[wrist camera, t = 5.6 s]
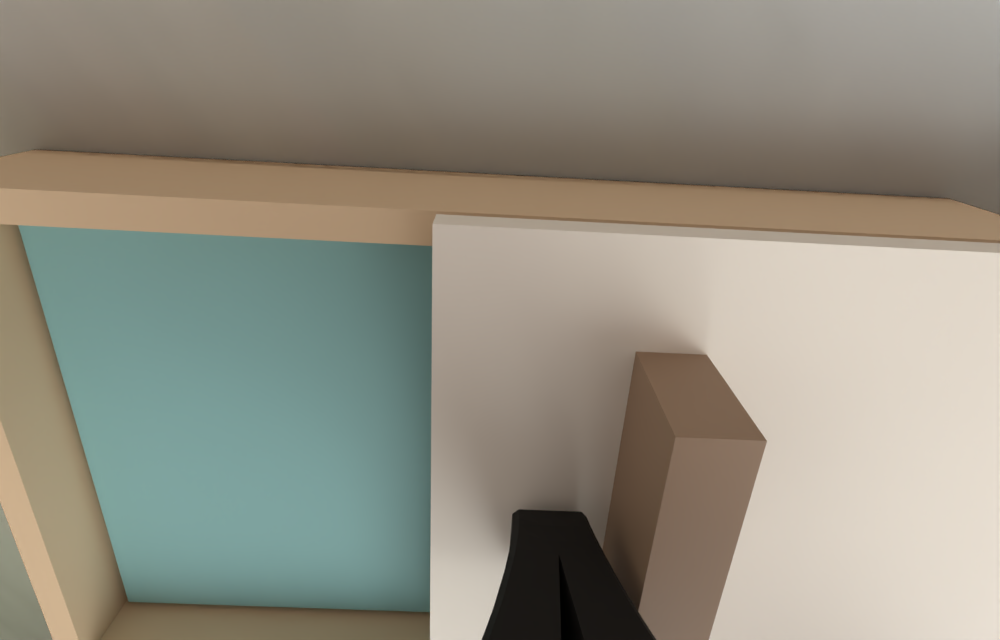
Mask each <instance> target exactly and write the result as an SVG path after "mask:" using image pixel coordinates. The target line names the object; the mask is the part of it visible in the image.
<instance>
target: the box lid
mask: <svg viewBox="0 0 1000 640" xmlns="http://www.w3.org/2000/svg"><path fill="white" fill-rule="evenodd" d="M518 509H525V510H551V511H577V512H582V513H583V514H584V515H585V516H586V517H587V519H588V521H589V524H590V526H591V528H592V530H593V532H594V534H595V536H596V538H597V540H598V542H599V544H600V546H601V548H602V550H603V552H604V554H605V556H606V557H607V559H608V561H609V563H610V565H611V567H612V568H613V570H614V572H615V574H616V576H617V577H618V579H619V581H620V582H621V584H622V586H623V588H624V589H625V591H626V593H627V594H628V596H629V597H630V599H631V601H632V602H633V604H634V606H635V607H636V609H637V610H638V612H639V614H640V615H641V617H642V619H643V620H644V622H645V623H646V625H647V626H648V628H649V629H650V631H651V632H652V634H653V635H654V637H655V638H656V640H1000V243H985V242H966V241H946V240H927V239H908V238H889V237H869V236H850V235H831V234H811V233H792V232H773V231H753V230H734V229H715V228H695V227H676V226H657V225H638V224H618V223H599V222H580V221H560V220H541V219H522V218H502V217H483V216H464V215H444V214H436V216H435V219H434V221H433V224H432V385H431V546H430V640H482V637H483V635H484V632H485V629H486V626H487V624H488V621H489V618H490V616H491V613H492V610H493V607H494V604H495V601H496V597H497V594H498V591H499V587H500V584H501V580H502V577H503V574H504V570H505V566H506V562H507V557H508V553H509V548H510V536H511V523H512V514H513V513H514V512H516V511H517V510H518Z"/></svg>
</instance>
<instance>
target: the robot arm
mask: <svg viewBox="0 0 1000 640" xmlns="http://www.w3.org/2000/svg"><path fill="white" fill-rule="evenodd" d="M482 640H656V638H655V637H654V635H653V634H652V632H651V631H650V629H649V628H648V626H647V625H646V623H645V622H644V620H643V619H642V617H641V615H640V614H639V612H638V610H637V609H636V607H635V606H634V604H633V602H632V601H631V599H630V597H629V596H628V594H627V593H626V591H625V589H624V588H623V586H622V584H621V582H620V581H619V579H618V577H617V576H616V574H615V572H614V570H613V568H612V567H611V565H610V563H609V561H608V559H607V557H606V556H605V554H604V552H603V550H602V548H601V546H600V544H599V542H598V540H597V538H596V536H595V534H594V532H593V530H592V528H591V526H590V524H589V521H588V519H587V517H586V516H585V515H584V514H583V513H582V512H577V511H551V510H525V509H518V510H517V511H516V512H514V513H513V514H512V523H511V536H510V548H509V553H508V557H507V562H506V566H505V570H504V574H503V577H502V580H501V584H500V587H499V591H498V594H497V597H496V601H495V604H494V607H493V610H492V613H491V616H490V618H489V621H488V624H487V626H486V629H485V632H484V635H483V637H482Z"/></svg>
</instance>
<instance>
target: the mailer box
mask: <svg viewBox="0 0 1000 640" xmlns="http://www.w3.org/2000/svg"><path fill="white" fill-rule="evenodd" d="M436 214H444V215H464V216H483V217H502V218H522V219H541V220H560V221H580V222H599V223H618V224H638V225H657V226H676V227H695V228H715V229H734V230H753V231H773V232H792V233H811V234H831V235H850V236H869V237H889V238H908V239H927V240H946V241H966V242H985V243H1000V215H999V214H996V213H992V212H989V211H986V210H983V209H980V208H977V207H974V206H971V205H967V204H964V203H961V202H958V201H955V200H952V199H947V198H929V197H910V196H891V195H873V194H854V193H835V192H817V191H798V190H780V189H761V188H742V187H724V186H705V185H686V184H668V183H649V182H631V181H612V180H593V179H575V178H556V177H537V176H519V175H500V174H482V173H463V172H444V171H426V170H407V169H388V168H370V167H351V166H333V165H314V164H295V163H277V162H258V161H239V160H221V159H202V158H184V157H165V156H146V155H128V154H109V153H90V152H72V151H53V150H31V151H26V152H21V153H16V154H11V155H6V156H2V157H0V503H1V505H2V508H3V510H4V513H5V516H6V518H7V521H8V524H9V526H10V529H11V531H12V534H13V537H14V539H15V542H16V544H17V547H18V550H19V552H20V555H21V558H22V560H23V563H24V565H25V568H26V571H27V573H28V576H29V578H30V581H31V584H32V586H33V589H34V592H35V594H36V597H37V599H38V602H39V605H40V607H41V610H42V612H43V615H44V618H45V620H46V623H47V626H48V628H49V631H50V633H51V636H52V639H53V640H430V546H431V385H432V224H433V221H434V219H435V216H436Z"/></svg>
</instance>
